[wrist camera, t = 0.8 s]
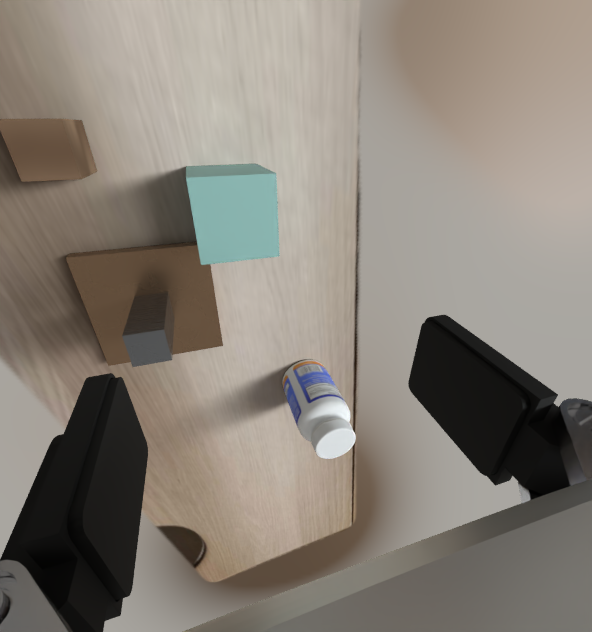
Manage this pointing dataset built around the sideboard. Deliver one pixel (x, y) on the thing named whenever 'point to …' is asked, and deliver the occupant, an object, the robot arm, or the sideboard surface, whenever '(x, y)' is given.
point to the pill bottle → (318, 409)
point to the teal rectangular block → (234, 212)
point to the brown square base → (148, 301)
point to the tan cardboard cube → (48, 148)
